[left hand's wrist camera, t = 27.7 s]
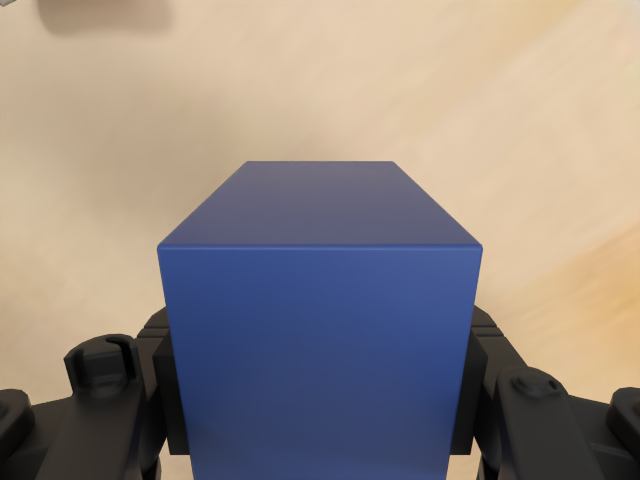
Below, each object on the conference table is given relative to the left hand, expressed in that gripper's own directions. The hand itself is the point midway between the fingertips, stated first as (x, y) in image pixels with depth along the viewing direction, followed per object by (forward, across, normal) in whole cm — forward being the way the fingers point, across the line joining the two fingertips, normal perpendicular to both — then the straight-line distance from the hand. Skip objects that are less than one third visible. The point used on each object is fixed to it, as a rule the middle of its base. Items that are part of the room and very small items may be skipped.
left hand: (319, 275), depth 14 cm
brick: (+1, 0, 0) cm, 1 cm away
